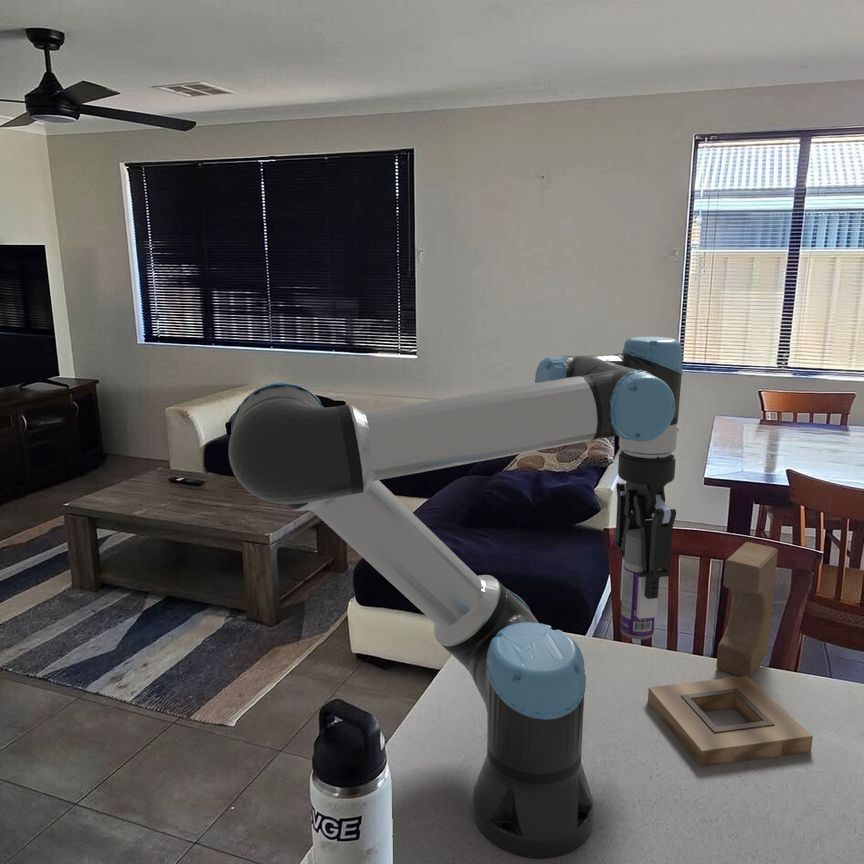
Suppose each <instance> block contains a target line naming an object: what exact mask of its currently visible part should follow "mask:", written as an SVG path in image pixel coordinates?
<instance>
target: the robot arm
mask: <svg viewBox="0 0 864 864" xmlns="http://www.w3.org/2000/svg"><path fill="white" fill-rule="evenodd" d="M623 345H624V346H623V349H622V352H621V353H615V354H596V355H595V354H592V355H591V354H590V355H583V354H582V355H567V354H563V355H561V356H550V357H545V358H543V359H542V360H540V362H539V364H538V366H537V368H536V371H535V375H534V383H530V384H522V385H516V386H510V387H505V388H498V389H493V390H487V391H480V392H475V393H469V394H462V395H458V396H450V397H443V398H438V399H432V400H426V401H420V402H413V403H408V404H402V405H395V406H391V407H384V408H383V407H382V408H377V409H372V410H365V411H362V410H360V409H358V408H357V407H355V406H354V405H352V404H344V405H338V406H330V407H329V406H327V407H324V405H323V404H322V402H321V400H320V399H319V397H317V396H316V394H314V393H313V391H311V390H309V389H307V388H304V387H303V386H301V385H298V384H295V383H291V382H284V381H283V382H271V383H268V384H265V385H262V386H260V387H258V388H256V389H255V390H253V391H252V392H251V393H249V394H248V395H247V396H246V397H245V398H244V399H243V401H242V402H241V403H240V404H239V405H238V406H237V408H236V411H235V413H234V414H233V417H232V421H231V426H230V427H231V428H230V430H231V434H230V438H229V440H228V459H229V464H230V467H231V470H232V472H233V475H234V476H235V478H236V479H237V481H238V483H239V484H240V485H241V486H242V487H243V488H244V489H245V490H246V491H247V492H249V493H250V494H251V495H252V496H253V497H257V498H258V499H260V500H263V501H266V502H269V503H274V504H281V505H287V506H288V507H289V508H290V509H291V510H293V511H294V512H305V511H312V513H314V514H315V515H316V516H317V517H318V518H320V520H321V521H323V522H324V523H325V524H326V525H327V526H328V527H329V528H330V529H331V530H333V531H334V532H335V533H336V534H337V535H338V536H339V537H340V538H341V539H342V540H343V541H345V542H346V544H348V545H349V546H350V548H352V549H353V550H354V551H356V553H358V555H360V556H361V557H362V558H363V559H364V560H365V561H366V562H368V564H370V565H371V567H373V568H374V569H375V570H376V571H377V572H378V573H379V574H380V575H382V576H383V578H385V579H386V580H387V581H388V583H390V584H391V585H392V586H394V587H395V588H396V589H397V591H399V593H401V594H402V595H403V596H404V597H405V598H407V599H408V600H409V601H410V603H412V604H413V605H414V606H415V607H416V608H417V609H418V610H420V611H421V613H423V615H425V616H426V617H427V618H428V619H429V620H430V621H432V623H433V624H434V626H433V627H434V628H433V634H434V635H433V636H434V638H435V641H437V643H439V644H440V645H441V646H442V647H443V648H444V649H445V650H446V651H448V653H449V654H450V655H452V656H453V658H455V659H456V660H458V662H459V663H460V664H461V665H463V667H465V669H466V670H467V672H468V673H469V674H470V675H471V677H472V679H473V681H474V684H475V686H476V688H477V690H478V692H479V695H480V697H481V699H482V701H483V702H484V705H485V707H486V708H485V709H486V715H487V718H486V723H487V725H486V732H487V733H486V745H487V746H486V747H487V748H486V756H485V759H484V762H483V763H482V766H481V768H480V771H479V774H478V777H477V779H476V782H475V785H474V787H473V793H472V815H473V818H474V822H475V824H476V827H477V828H478V830H479V831H480V833H482V834H483V836H484V837H485V838H486V839H487V840H488V841H490V842H491V843H492V844H493V845H495V846H497V847H499V848H500V849H502V850H505V851H506V852H508V853H512V854H514V855H517V856H523V857H529V858H536V859H537V858H538V859H539V858H540V859H542V858H552V857H556V856H561V855H565V854H568V853H570V852H572V851H574V850H576V849H577V848H578V847H579V846H581V845H582V844H584V842H585V841H586V840H587V838H589V836H590V835H591V834H590V833H591V832H592V829H593V827H594V826H593V825H594V810H595V809H594V808H595V806H594V804H595V803H594V798H593V795H592V791H591V788H590V786H589V783H588V779H587V776H586V773H585V770H584V767H583V763H582V750H583V730H584V727H583V725H584V711H585V707H584V706H585V693H586V686H587V675H586V673H585V672H586V670H585V659H584V656H583V653H582V650H581V649H580V647H579V645H578V643H576V641H575V640H574V639H573V638H572V637H571V636H570V635H568V634H567V633H565V631H563V630H561V629H553V628H552V626H551V625H548V624H544V623H540V622H539V620H537V618H536V617H535V616H534V614H533V613H532V612H531V608H530V607H529V605H527V603H526V602H525V600H523V599H522V598H521V597H520V596H519V595H517V594H516V593H514V592H512V590H509V589H507V588H506V587H505V586H504V585H503V584H502V583H501V582H500V581H499V580H498V579H497V578H495V577H494V576H493V575H489V574H482V575H477V574H476V573H475V572H474V571H473V570H471V568H470V567H469V566H468V565H466V563H465V562H464V561H462V560H461V559H460V557H459V556H458V555H456V554H455V552H453V551H452V550H451V548H449V547H448V546H447V545H446V544H445V543H444V542H443V541H442V540H441V539H440V538H439V537H438V536H437V535H436V534H435V533H434V532H433V531H432V530H431V529H430V528H429V527H427V525H425V524H424V523H423V522H422V521H421V519H419V517H417V516H416V515H415V514H414V513H413V512H412V511H411V510H410V509H409V508H408V507H407V506H406V505H405V504H404V503H403V502H402V501H401V500H400V499H399V498H398V497H397V496H396V495H395V494H393V492H392V491H391V490H390V489H389V488H387V487H386V485H384V484H383V482H381V481H380V480H385V479H386V480H387V479H392V478H397V477H401V476H402V477H403V476H407V475H413V474H418V473H424V472H429V471H430V472H431V471H434V470H441V469H445V468H446V469H447V468H450V467H456V466H457V467H458V466H462V465H467V464H473V463H478V462H483V461H488V460H494V459H498V458H504V457H511V456H515V455H520V454H527V453H532V452H536V451H542V450H549V449H553V448H559V447H565V446H568V445H574V444H579V443H587V442H592V441H596V440H603V439H609V438H615V437H618V447H619V448H620V449H622V450H620V451H619V453H618V464H617V466H618V467H617V475H618V477H619V478H620V479H621V480H623V481H625V482H617V483H616V486H615V487H616V496H617V497H616V498H617V501H616V517H615V519H616V520H615V539H614V540H615V542H614V545H615V547H616V548H617V549H620V550H619V552H620V553H619V554H620V557H622V558H621V575H620V576H621V578H620V580H621V581H620V598H619V599H620V600H619V601H621V602H622V588H623V569H624V556H625V544H626V532H627V531H628V530H631V529H640V532H641V552H642V571H643V572H637V573H638V576H639V580H638V598H637V615H636V617H637V618H638V619H643V618H653V617H655V618H657V617H658V607H659V606H658V602H659V588H660V578H661V577H662V578H665V577H666V578H667V577H669V576H670V573H671V572H670V571H671V559H672V558H671V557H672V547H673V546H672V545H673V543H672V542H673V532H674V531H673V530H674V523H675V520H676V516H677V509H676V508H675V507H668V506H667V504H666V495H665V487H666V485H667V484H669V483H671V482H673V480H675V474H676V460H677V459H676V458H677V457H676V455H675V453H674V452H675V451H676V449H677V437H678V432H679V430H680V428H679V426H678V424H679V423H678V422H679V411H680V402H681V401H680V399H681V387H682V385H681V384H682V376H683V373H684V371H683V347H682V344H681V343H680V342H679V341H678V340H677V339H675V338H672V337H664V336H663V337H662V336H637V337H634V336H633V337H629V338H627V339H626V340H625V342H624V344H623Z"/></svg>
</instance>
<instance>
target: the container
mask: <svg viewBox="0 0 864 864" xmlns="http://www.w3.org/2000/svg"><path fill="white" fill-rule="evenodd" d="M637 572H643V571H642V552H641V532H640V529H631V530H628V531H627V532H626V544H625V556H624V569H623V588H622V601H621V608H620V609H621V612H620V628H619V629H620V633H621V634H622V635H624V636H625V637H627V638H629V639H633V640H648V639H650V638H652V637H653V636H654V633H655V621H656V620H655V618H656V617H653V618H643V619H638V618H637V617H636V615H637V598H638V580H639V576H638V573H637Z"/></svg>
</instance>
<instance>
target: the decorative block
mask: <svg viewBox="0 0 864 864" xmlns="http://www.w3.org/2000/svg"><path fill="white" fill-rule="evenodd" d="M778 552H779V550H778V549H777V548H776V547H773V546H768V545H764V544H759V543H754V542H749V541H746V542H744V543H743V544H742V545H741V546H740V547H739V548H738V549H737V550H736V551H734V553H732V554H731V555H730V556H729V557H728V558H727V559H726V560H725V561H724V571H723V587H724V588H726V589H730V590H731V591H730V592H731V606H730V612H729V617H728V621H727V624H726V628H725V630H724V633H723V635H722V638H721V639H720V642H719V643H718V645H717V656H716V669H717V670H718V671H720V672H724V673H728V674H730V675H734V676H736V677H742V676H747V677H748V678H750V679H751V677H752V675H753V674H754V672H755V671H756V670H757V668H758V667H759V666H760V664H761V663H762V661H764V659H765V658H766V656H767V655H768V652H769V651H768V650H769V643H770V642H769V641H770V634H771V633H770V632H771V625H772V615H773V614H772V612H773V603H774V592H775V583H776V582H775V581H776V573H777V572H776V571H777V563H778V555H779V553H778Z"/></svg>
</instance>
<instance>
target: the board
mask: <svg viewBox="0 0 864 864" xmlns="http://www.w3.org/2000/svg"><path fill="white" fill-rule="evenodd" d="M647 692H648V693H647V703H649V705H650V706H651V707H652V709H654V712H656V714H657V715H658V716H659V718H660V719H661V720H662V722H664V723H665V725H666V726H667V728H669V730H670V731H671V733H672V734H674V736H675V737H676V739H678V740H679V742H680V743H681V744H682V746H683V747H684V749H686V750H687V752H688V753H689V755H690V756H691V757H692V758H693V759H694V760H695V763H697V764H698V766H700V767H703V768H704V767H708V766H709V767H710V766H716V765H724V764H730V763H731V764H733V763H737V762H746V761H752V760H759V759H767V758H774V757H781V756H787V755H788V756H789V755H796V754H801V753H809V752H812V745H813V736H814V735H812V734H811V733H810V732H809V731H808V730H807V729H806V728H805V727H803V726H802V725H801V724H800V723H799V722H798V721H797V720H796V719H795V718H794V717H792V715H790V714H789V713H788V712H787V711H786V710H785V709H784V708H783V707H781V706H780V705H779V704H778V703H777V702H776V701H775V700H774V699H773V698H772V697H771V696H770V695H768V694H767V692H765V691H764V690H763V689H762V688H761V687H759V686H758V685H757V684H756V683H755V682H754V681H753V680H752V679H751V677H750V678H748V677H747V676H742V677H739V676H736V677H727V678H725V677H724V678H717V679H709V680H702V681H700V680H699V681H692V682H691V681H690V682H682V683H676V684H675V683H674V684H668V685H667V684H666V685H656V686H649V687H648V691H647ZM727 709H728V710H730V709H734V710H735V711H736V712H737V713H738V714H739V715H740V716H741V717H742V718H743V719H744V720H745V722H746V723H739V724H731V725H730V724H729V725H723V726H717V725H716V724H715V723H714V722H713V721H712V720H711V718H709V717H708V716H707V715H706V714H705V712H712V711H714V712H715V711H721V710H727Z"/></svg>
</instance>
